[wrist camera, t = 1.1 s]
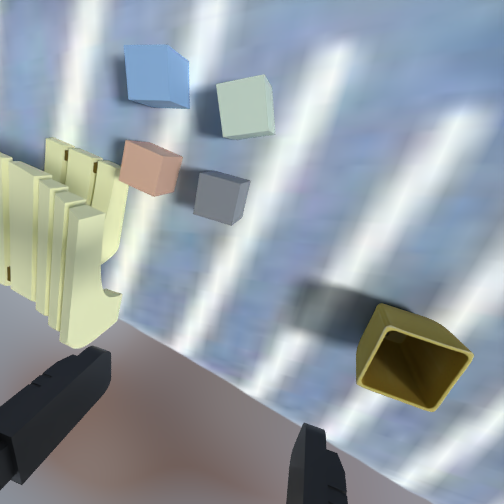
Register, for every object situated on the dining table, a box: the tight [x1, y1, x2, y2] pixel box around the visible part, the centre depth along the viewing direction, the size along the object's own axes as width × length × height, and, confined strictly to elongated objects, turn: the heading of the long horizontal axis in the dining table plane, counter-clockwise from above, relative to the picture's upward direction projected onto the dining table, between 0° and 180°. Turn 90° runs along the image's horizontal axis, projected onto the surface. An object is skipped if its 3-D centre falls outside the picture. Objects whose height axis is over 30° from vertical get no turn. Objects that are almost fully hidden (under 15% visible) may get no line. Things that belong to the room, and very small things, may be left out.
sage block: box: [216, 75, 275, 140], centre depth 29 cm, size 5×5×5 cm
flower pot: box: [356, 303, 474, 412], centre depth 32 cm, size 9×9×9 cm
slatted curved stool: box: [0, 137, 129, 349], centre depth 33 cm, size 30×16×18 cm, turn 70°
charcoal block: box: [193, 171, 250, 226], centre depth 33 cm, size 5×5×5 cm
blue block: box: [124, 45, 190, 109], centre depth 30 cm, size 5×5×5 cm
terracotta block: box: [119, 140, 183, 197], centre depth 34 cm, size 5×5×5 cm
